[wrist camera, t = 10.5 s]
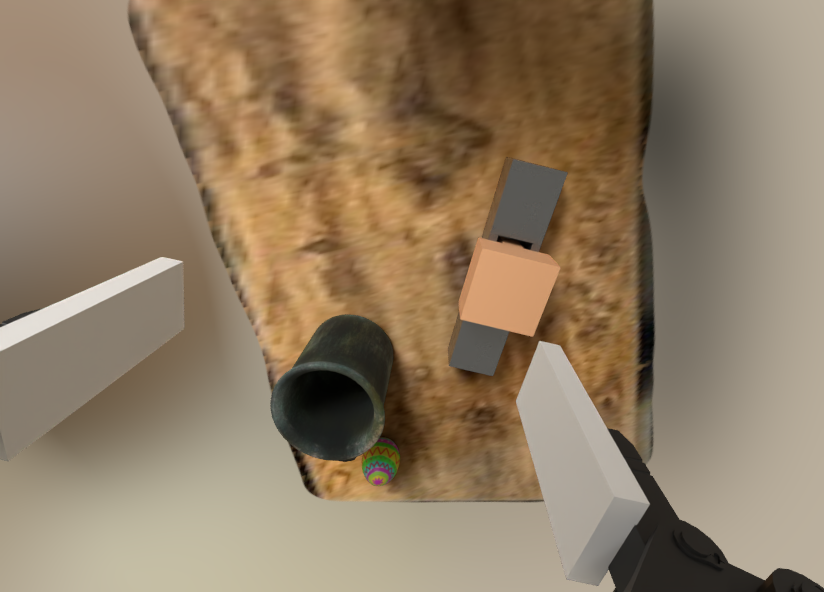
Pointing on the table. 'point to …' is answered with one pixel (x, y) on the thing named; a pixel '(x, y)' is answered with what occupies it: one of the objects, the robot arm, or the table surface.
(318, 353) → the mug
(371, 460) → the egg
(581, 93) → the table surface
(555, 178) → the rail
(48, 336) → the robot arm
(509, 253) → the tan block with tab
